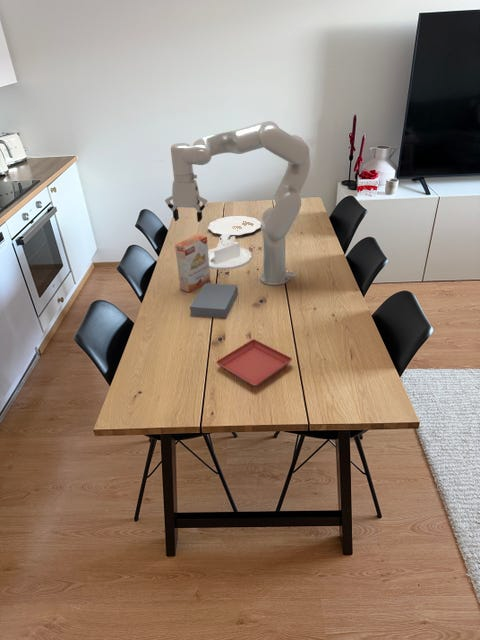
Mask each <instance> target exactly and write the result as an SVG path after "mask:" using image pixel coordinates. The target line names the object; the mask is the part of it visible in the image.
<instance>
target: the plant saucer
mask: <svg viewBox="0 0 480 640" xmlns="http://www.w3.org/2000/svg"><path fill="white" fill-rule="evenodd" d="M292 361H293V357H291V356H289V355H287V354H285V353H283V352H280V350H279V351H278V350H277V349H275V348H273V347H271V346H269V345H267V344H265V343H263V342H261V341H259V340H258V339H253V338H252V339H251V340H249V341H246V343H244V344H243V345H241V346H238V348H236V349H234V350H233V351H230V352H229V353H227V354H226V355H224V356H222V357H221V358H219V359H217V360H216V362H215V363H216V364H217V366H219V367H220V368H222V369H223V370H225V371H226V372H228V373H230V374H231V375H233V376H235V377H237V378H238V379H240V380H241V381H243V382H245V383H247V384H249V385H250V386H252V387H254V388H257V387H258V386H260V385H261V384H262V383H264V382H265V381H266V380H268V379H269V378H271V377H272V376H274V375H275V374H276V373H278V372H279V371H281V370H282V369H284V368H285V367H287V366H288V365H289V364H290V363H291V362H292Z"/></svg>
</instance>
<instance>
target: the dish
mask: <svg viewBox="0 0 480 640" xmlns="http://www.w3.org/2000/svg"><path fill="white" fill-rule="evenodd" d="M219 238H220V239H219V241H218V243H217V245H216V247H214V248H211V249H210V248H209V249H208V258H209V269H213V270H232V269H237V268H241V267H244V266H245V265H247V264H249V263H250V261H251V260H252V252H250V251H249V250H248V249H246V248H244V247H242V246H241V245H240V244H241V243H240V242H237V241H235V240H236V237H235V236H232V237H230V235H228V234H223V235H219Z"/></svg>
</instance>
